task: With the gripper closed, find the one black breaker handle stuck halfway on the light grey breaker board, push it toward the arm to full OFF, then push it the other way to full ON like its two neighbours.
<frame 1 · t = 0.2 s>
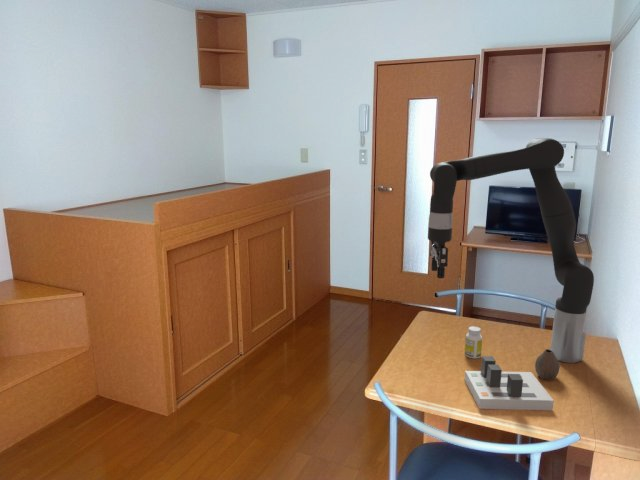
hand: (437, 274, 160), 29 cm above the table, tool pointing down, fingers open, 8 cm apart
vase: (545, 377, 152), on the table
tripped breaker handle: (514, 385, 136), point 6 cm above the table, slide at 0.0 cm
breaker panel: (506, 394, 142), on the table
supplement bottle: (472, 355, 167), on the table
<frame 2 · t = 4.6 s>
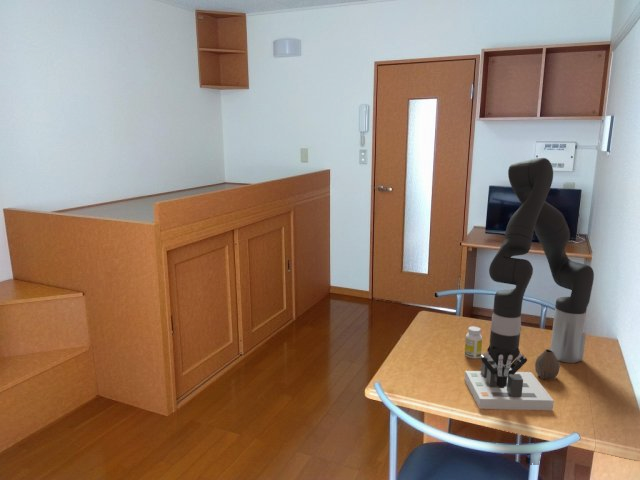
hand: (500, 386, 136), 5 cm above the table, tool pointing down, fingers closed
tripped breaker handle: (514, 385, 136), point 6 cm above the table, slide at -0.1 cm, touching gripper
everything else where it was.
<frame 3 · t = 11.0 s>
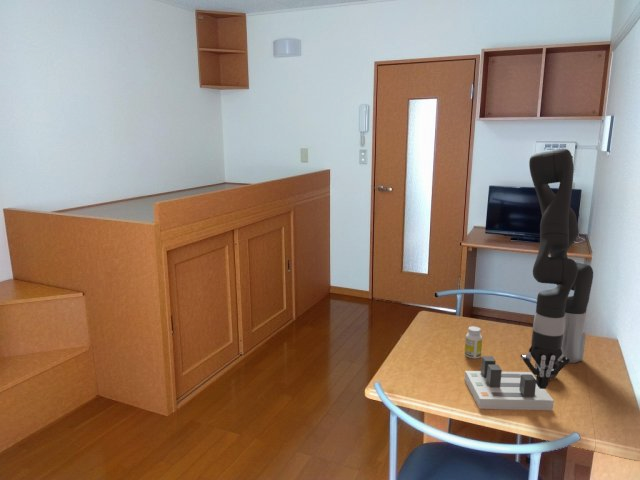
hand: (541, 387, 135), 6 cm above the table, tool pointing down, fingers closed
tripped breaker handle: (527, 385, 135), point 6 cm above the table, slide at -3.6 cm, touching gripper
everything else where it was.
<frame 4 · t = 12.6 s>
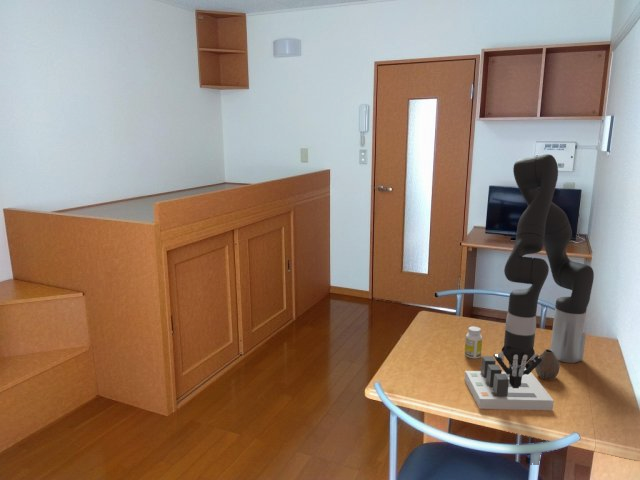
hand: (514, 386, 135), 6 cm above the table, tool pointing down, fingers closed
tripped breaker handle: (500, 384, 136), point 6 cm above the table, slide at 3.8 cm, touching gripper
everything else where it was.
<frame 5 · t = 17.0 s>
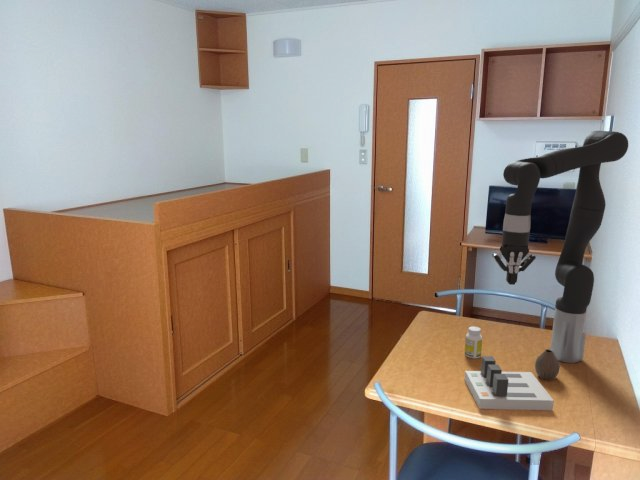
hand: (511, 283, 150), 29 cm above the table, tool pointing down, fingers closed
tripped breaker handle: (500, 384, 136), point 6 cm above the table, slide at 4.0 cm
everything else where it was.
at the end: tripped breaker handle slide at 4.0 cm; tripped breaker handle touching nothing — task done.
